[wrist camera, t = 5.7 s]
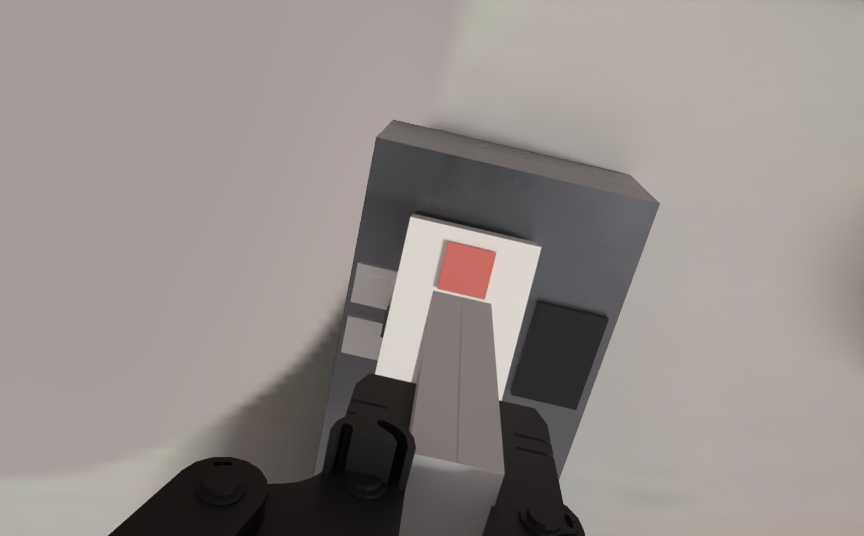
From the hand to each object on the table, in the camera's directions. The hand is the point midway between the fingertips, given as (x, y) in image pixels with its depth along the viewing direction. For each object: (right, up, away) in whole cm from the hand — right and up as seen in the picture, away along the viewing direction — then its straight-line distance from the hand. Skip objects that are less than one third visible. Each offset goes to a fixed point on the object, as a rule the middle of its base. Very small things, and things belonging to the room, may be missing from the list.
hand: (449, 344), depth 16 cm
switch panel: (0, -5, +14) cm, 15 cm away
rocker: (0, -1, +6) cm, 6 cm away
